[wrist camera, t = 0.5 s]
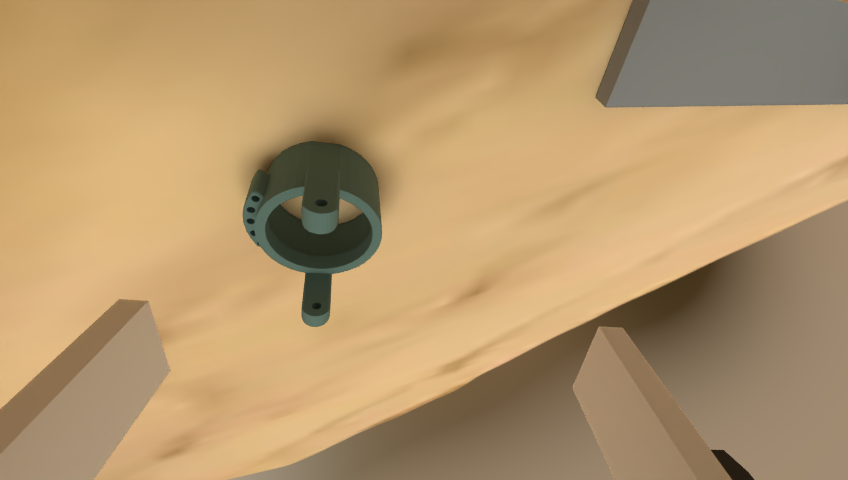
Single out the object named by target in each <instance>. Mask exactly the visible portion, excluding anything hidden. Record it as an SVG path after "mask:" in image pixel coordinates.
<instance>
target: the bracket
mask: <svg viewBox="0 0 848 480" xmlns="http://www.w3.org/2000/svg"><path fill="white" fill-rule="evenodd" d="M297 196H303V200H302V220H300V219H298V218H296V217H294V216H293V215H291V214H289V213H288V212H287V211H286V210H285V209H283V207H282V206H281V205H280V204H281V203H283V202H285V201H287V200H289V199H292V198H295V197H297ZM339 198H341V199H343V200H345V201H348V202H350V203H352V204H353V205H355V206H356V207H358V208H359V209H360V210H361V211H362V212H363V213H362V214H361V215H359V216H358V217H356V218H355V219H353V220H351V221H348V222H345V223H342V224H338V215H339ZM243 222H244V225H245V228H246V231H247V232H248V234H249V236H250V238H251V239H252V240H253V241H254V242H255V243H256V245H257V246H260V247H261V248H262V249H263V250H264V252H265V253H266V254H267V255H268V256H270V257H271V258H272V259H273V260H275V261H276V262H278V263H279V264H281V265H283V266H285V267H287V268H290V269H293V270H296V271H299V272H304V273H306V274H305V283H304V292H303V301H302V319H303V321H304V323H305V324H307V325H309V326H312V327H318V326H322V325H324V324H325V323H326V322H327V321H328V319H329V316H330V301H331V280H332V274H334V273H340V272H344V271H348V270H351V269H353V268H356V267H358V266H359V265H361V264H363V263H365V262H366V261H367V260H368V259H370V258H371V257H372V256H373V254H374V253H375V252H376V250H377V249H378V247H379V245H380V242H381V238H382V225H381V213H380V201H379V189H378V181H377V177H376V174H375V173H374V171H373V169H372V167H371V166H370V165H369V163H368V162H367V161H366V160H365V159H364V158H363V157H362V156H361V155H359V154H358V153H356V152H355V151H353V150H351V149H349V148H347V147H345V146H342V145H338V144H330V143H322V142H314V141H311V142H305V143H300V144H297V145H294V146H292V147H290V148H288V149H286V150H284V151H283V152H282V153H281V154H279V155H278V156H277V157H276V158H275V160H274V161H273V162H272V164H271V166H270V168H269V170H268V173H265V172H264V171H263V170H258V171H257V172H256V174H255V175H254V177H253V179H252V182H251V185H250V188H249V192H248V195H247V198H246V201H245V205H244V208H243Z"/></svg>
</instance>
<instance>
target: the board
mask: <svg viewBox="0 0 848 480" xmlns="http://www.w3.org/2000/svg"><path fill="white" fill-rule="evenodd" d="M596 98H597V99H598V100H599V101H600V102H601V103H602V104H603V105H604V106H605V107H678V106H752V105H826V104H848V3H845V2H842V1H839V0H633V3H632V5H631V8H630V10H629V13H628V15H627V18H626V21H625V23H624V26H623V28H622V31H621V34H620V36H619V39H618V41H617V44H616V46H615V49H614V52H613V54H612V57H611V59H610V62H609V64H608V67H607V70H606V72H605V75H604V77H603V80H602V82H601V85H600V88H599V90H598V93H597V95H596Z"/></svg>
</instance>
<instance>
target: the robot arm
mask: <svg viewBox="0 0 848 480" xmlns="http://www.w3.org/2000/svg"><path fill="white" fill-rule="evenodd" d="M169 372H170V368H169V365H168V362H167V358H166V355H165V352H164V349H163V346H162V343H161V339H160V336H159V333H158V330H157V327H156V324H155V320H154V317H153V314H152V311H151V308H150V305H149V301H140V300H122V299H119V300H118V301H117V302H116V303H115V304H114V305H113V306H111V307H110V308H109V309H108V310H107V311H106V312H105V313H104V314H103V315H102V316H101V317H100V318H99V319H97V320H96V321H95V322H94V323H93V324H92V325H91V326H90V327H89V328H88V329H87V330H86V331H84V332H83V333H82V334H81V335H80V336H79V337H78V338H77V339H76V340H75V341H74V342H73V343H72V344H70V345H69V346H68V347H67V348H66V349H65V350H64V351H63V352H62V353H61V354H60V355H59V356H57V357H56V358H55V359H54V360H53V361H52V362H51V363H50V364H49V365H48V366H47V367H46V368H45V369H43V370H42V371H41V372H40V373H39V374H38V375H37V376H36V377H35V378H34V379H33V380H32V381H30V382H29V383H28V384H27V385H26V386H25V387H24V388H23V389H22V390H21V391H20V392H19V393H17V394H16V395H15V396H14V397H13V398H12V399H11V400H10V401H9V402H8V403H7V404H6V405H5V406H3V407H2V408H1V409H0V480H94V479H95V477H96V476H97V474H98V473H99V471H100V470H101V469H102V467H103V466H104V464H105V463H106V461H107V460H108V459H109V457H110V456H111V454H112V453H113V451H114V450H115V449H116V447H117V446H118V444H119V443H120V442H121V440H122V439H123V437H124V436H125V434H126V433H127V432H128V430H129V429H130V427H131V426H132V424H133V423H134V422H135V420H136V419H137V417H138V416H139V414H140V413H141V412H142V410H143V409H144V407H145V406H146V405H147V403H148V402H149V400H150V399H151V397H152V396H153V395H154V393H155V392H156V390H157V389H158V387H159V386H160V385H161V383H162V382H163V380H164V379H165V377H166V376H167V375H168V373H169ZM573 390H574V392H575V394H576V396H577V399H578V401H579V403H580V405H581V407H582V410H583V412H584V414H585V416H586V418H587V420H588V423H589V425H590V427H591V429H592V431H593V433H594V436H595V438H596V440H597V442H598V444H599V447H600V448H601V451H602V453H603V455H604V457H605V460H606V462H607V464H608V466H609V468H610V470H611V473H612V475H613V477H614V479H615V480H754V479H753V478H752V476H751V475H750V474H749V472H747V471H746V470H745V469H744V468H743V467H742V466H741V465H740V464H739V463H737V462H736V461H735V460H734V459H733V458H732V457H731V456H730V455H729V454H727V453H726V452H725V451H724V450H710V449H709V447H708V446H707V444H706V443H705V442H704V440H703V439H702V438H701V436H700V435H699V433H698V432H697V431H696V429H695V428H694V426H693V425H692V424H691V422H690V421H689V419H688V418H687V417H686V415H685V414H684V412H683V411H682V410H681V409H680V407H679V405H678V404H677V403H676V401H675V400H674V399H673V397H672V396H671V395H670V393H669V392H668V390H667V389H666V388H665V386H664V385H663V383H662V382H661V381H660V379H659V378H658V376H657V375H656V374H655V372H654V371H653V369H652V368H651V367H650V365H649V364H648V362H647V361H646V360H645V358H644V357H643V356H642V354H641V353H640V351H639V350H638V349H637V347H636V346H635V344H634V343H633V342H632V340H631V339H630V338H629V336H628V335H627V333H626V332H625V331H624V329H623V328H616V327H598V330H597V332H596V334H595V337H594V339H593V342H592V344H591V346H590V348H589V351H588V353H587V355H586V358H585V360H584V362H583V364H582V367H581V369H580V371H579V374H578V376H577V378H576V381H575V383H574V385H573Z"/></svg>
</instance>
